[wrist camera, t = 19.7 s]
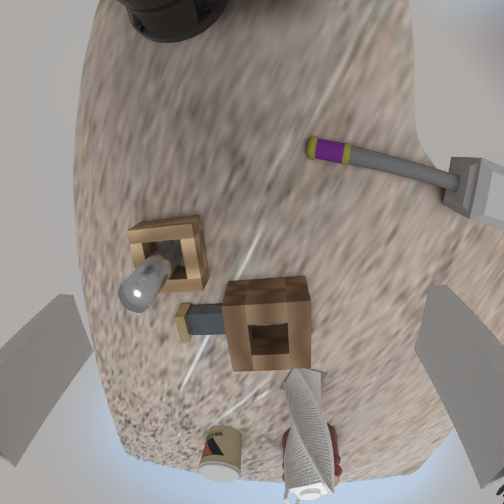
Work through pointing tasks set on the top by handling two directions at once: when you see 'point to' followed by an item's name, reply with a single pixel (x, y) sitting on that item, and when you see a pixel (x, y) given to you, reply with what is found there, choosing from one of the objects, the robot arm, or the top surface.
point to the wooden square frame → (191, 243)
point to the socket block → (268, 312)
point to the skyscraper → (307, 438)
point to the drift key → (200, 320)
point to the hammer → (433, 178)
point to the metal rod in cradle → (150, 276)
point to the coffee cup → (221, 455)
